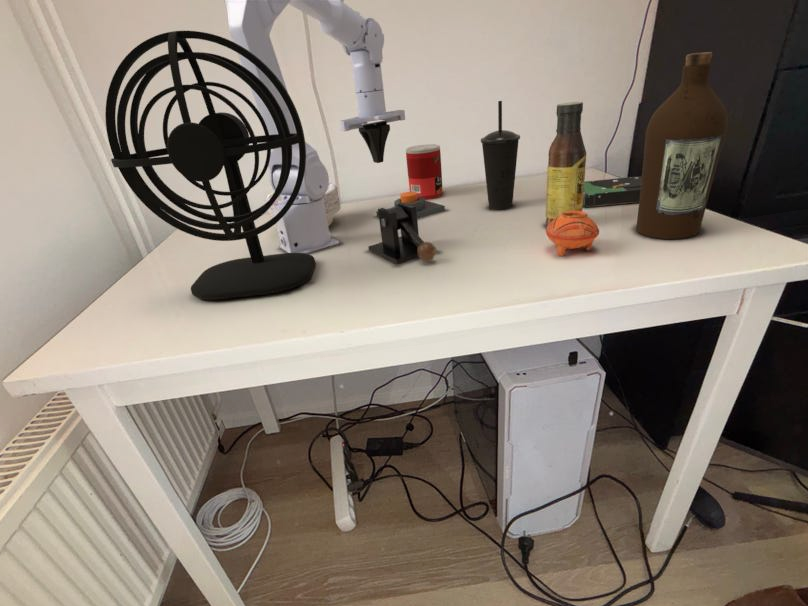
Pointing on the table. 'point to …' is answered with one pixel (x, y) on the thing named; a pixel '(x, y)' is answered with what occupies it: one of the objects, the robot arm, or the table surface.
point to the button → (408, 197)
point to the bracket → (396, 236)
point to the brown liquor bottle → (682, 155)
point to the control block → (422, 207)
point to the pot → (572, 231)
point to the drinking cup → (500, 165)
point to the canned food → (425, 170)
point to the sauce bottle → (566, 163)
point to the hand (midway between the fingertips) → (378, 162)
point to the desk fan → (211, 162)
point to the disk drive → (612, 191)
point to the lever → (414, 236)
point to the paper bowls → (329, 200)
